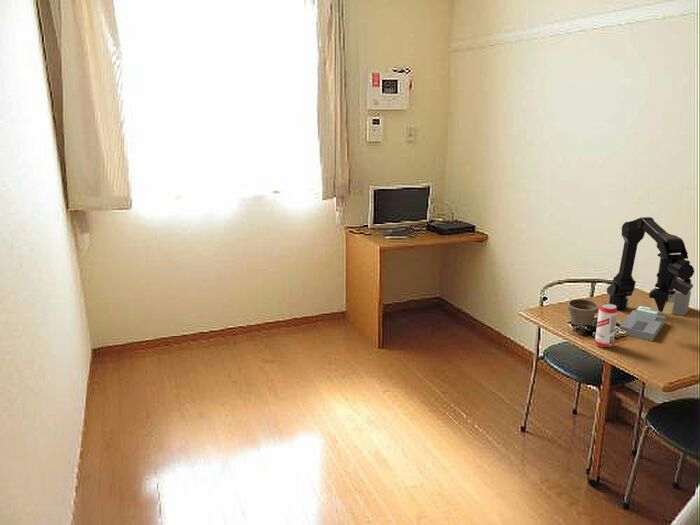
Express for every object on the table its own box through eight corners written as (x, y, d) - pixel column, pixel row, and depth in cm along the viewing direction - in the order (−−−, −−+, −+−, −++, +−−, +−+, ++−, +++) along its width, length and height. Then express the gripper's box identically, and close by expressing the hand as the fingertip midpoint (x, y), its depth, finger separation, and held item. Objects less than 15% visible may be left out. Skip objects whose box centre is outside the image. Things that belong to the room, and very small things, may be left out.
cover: (635, 316, 218) (636, 308, 217) (638, 312, 222) (639, 304, 221) (654, 320, 214) (656, 312, 213) (657, 316, 217) (658, 308, 216)
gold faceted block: (671, 314, 199) (673, 301, 198) (650, 310, 204) (652, 297, 202) (672, 312, 201) (674, 299, 199) (651, 308, 205) (653, 295, 204)
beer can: (605, 350, 198) (610, 310, 193) (590, 343, 203) (595, 304, 198) (616, 346, 200) (622, 307, 196) (602, 340, 206) (607, 301, 201)
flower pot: (580, 335, 210) (582, 311, 207) (559, 324, 220) (561, 301, 217) (602, 329, 214) (605, 306, 211) (581, 319, 224) (583, 296, 221)
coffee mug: (687, 308, 232) (691, 286, 228) (687, 316, 224) (691, 294, 220) (652, 302, 238) (655, 281, 235) (650, 310, 230) (654, 288, 227)
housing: (618, 333, 211) (619, 325, 210) (632, 316, 225) (633, 309, 224) (652, 341, 203) (653, 333, 202) (664, 323, 218) (665, 316, 217)
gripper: (687, 282, 186) (680, 323, 190) (697, 268, 199) (691, 307, 204) (651, 276, 193) (645, 316, 197) (664, 263, 206) (658, 301, 211)
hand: (661, 310), depth 202 cm, fingers closed on gold faceted block, 2 cm apart
